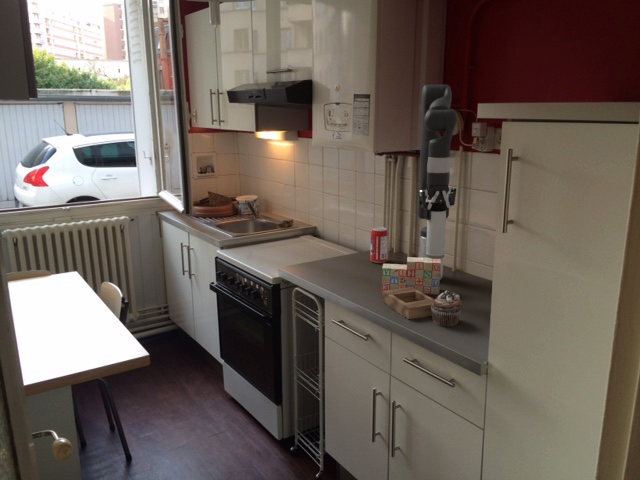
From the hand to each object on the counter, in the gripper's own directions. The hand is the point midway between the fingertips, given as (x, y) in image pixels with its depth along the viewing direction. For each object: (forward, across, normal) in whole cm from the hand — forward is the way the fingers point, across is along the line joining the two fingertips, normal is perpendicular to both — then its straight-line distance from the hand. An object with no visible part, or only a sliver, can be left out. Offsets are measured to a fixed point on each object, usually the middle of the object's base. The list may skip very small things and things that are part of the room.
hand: (436, 218), depth 190 cm
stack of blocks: (+30, +2, -12) cm, 32 cm away
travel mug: (+14, 0, 0) cm, 14 cm away
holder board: (+30, +12, +4) cm, 32 cm away
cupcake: (+30, +8, +19) cm, 36 cm away
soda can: (+30, -5, -51) cm, 59 cm away
